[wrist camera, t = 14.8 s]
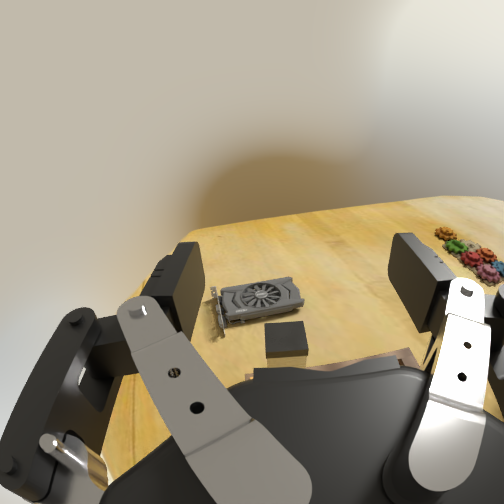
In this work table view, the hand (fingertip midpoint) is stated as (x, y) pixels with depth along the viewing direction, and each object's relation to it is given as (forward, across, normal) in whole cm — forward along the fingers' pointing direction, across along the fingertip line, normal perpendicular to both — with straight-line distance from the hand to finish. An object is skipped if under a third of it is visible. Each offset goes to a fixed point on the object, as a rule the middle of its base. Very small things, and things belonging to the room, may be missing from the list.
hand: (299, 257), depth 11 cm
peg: (+11, 0, +30) cm, 32 cm away
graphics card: (+32, +4, +31) cm, 45 cm away
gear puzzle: (+48, -58, +31) cm, 81 cm away
